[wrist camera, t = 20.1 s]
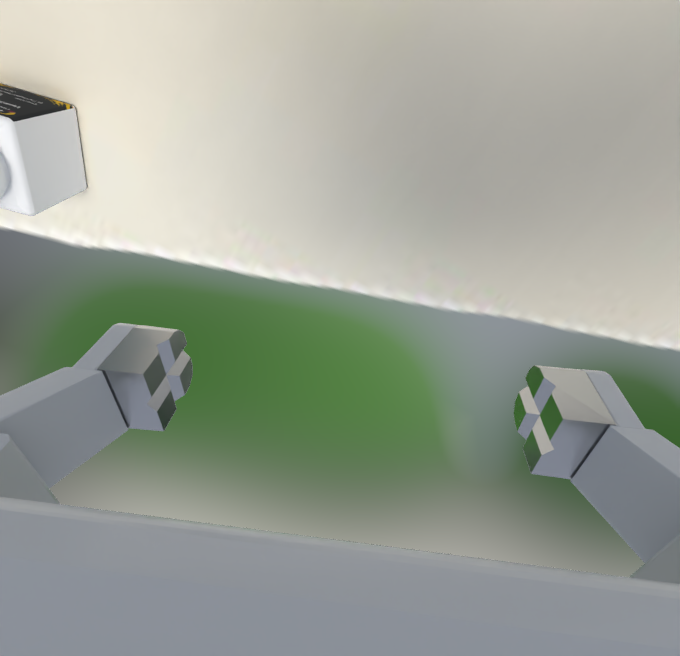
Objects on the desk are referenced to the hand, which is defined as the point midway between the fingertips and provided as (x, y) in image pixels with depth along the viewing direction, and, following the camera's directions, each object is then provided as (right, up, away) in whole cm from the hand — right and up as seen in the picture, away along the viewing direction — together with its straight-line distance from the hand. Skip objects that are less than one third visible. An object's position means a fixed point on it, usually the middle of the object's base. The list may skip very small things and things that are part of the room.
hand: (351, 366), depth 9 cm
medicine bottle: (-26, +17, +25) cm, 40 cm away
